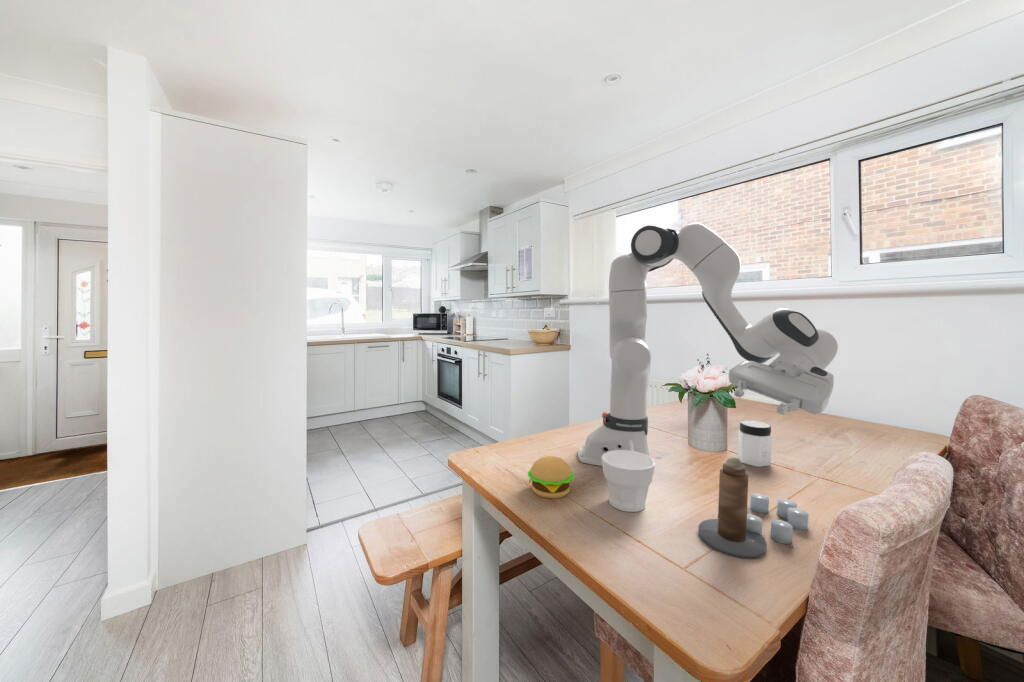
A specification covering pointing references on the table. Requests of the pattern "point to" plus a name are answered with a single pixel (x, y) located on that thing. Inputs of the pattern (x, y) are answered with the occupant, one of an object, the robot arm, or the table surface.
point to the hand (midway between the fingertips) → (757, 402)
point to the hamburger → (550, 477)
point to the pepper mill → (733, 501)
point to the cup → (627, 478)
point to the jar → (754, 443)
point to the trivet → (747, 549)
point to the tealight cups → (779, 528)
